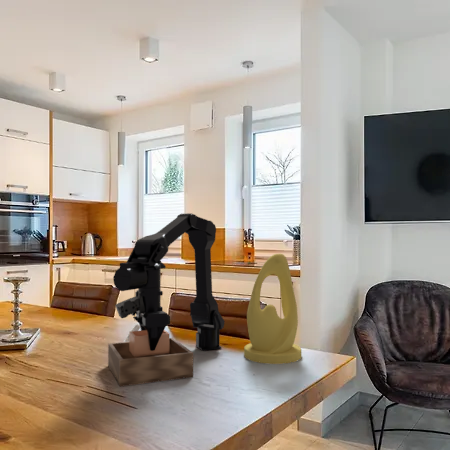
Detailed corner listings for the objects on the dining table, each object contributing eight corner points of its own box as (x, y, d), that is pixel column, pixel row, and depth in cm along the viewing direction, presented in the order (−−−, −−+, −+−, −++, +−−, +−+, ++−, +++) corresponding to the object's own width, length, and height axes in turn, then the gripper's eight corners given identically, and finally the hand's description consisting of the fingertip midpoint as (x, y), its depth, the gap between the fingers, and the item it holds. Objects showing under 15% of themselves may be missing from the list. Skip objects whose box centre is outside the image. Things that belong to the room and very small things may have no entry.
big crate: (172, 358, 129) (172, 337, 129) (193, 377, 112) (193, 352, 112) (108, 365, 122) (108, 343, 122) (119, 386, 105) (120, 360, 105)
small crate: (162, 347, 122) (162, 328, 122) (169, 353, 116) (169, 333, 116) (129, 350, 118) (129, 331, 119) (134, 356, 112) (134, 336, 113)
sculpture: (263, 366, 121) (263, 254, 122) (234, 352, 136) (234, 252, 137) (313, 359, 129) (312, 253, 130) (280, 346, 144) (279, 251, 144)
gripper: (112, 284, 123) (111, 342, 123) (124, 292, 106) (124, 359, 106) (152, 282, 127) (152, 338, 127) (170, 290, 110) (170, 354, 110)
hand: (149, 347), depth 117 cm, fingers closed on small crate, 6 cm apart
